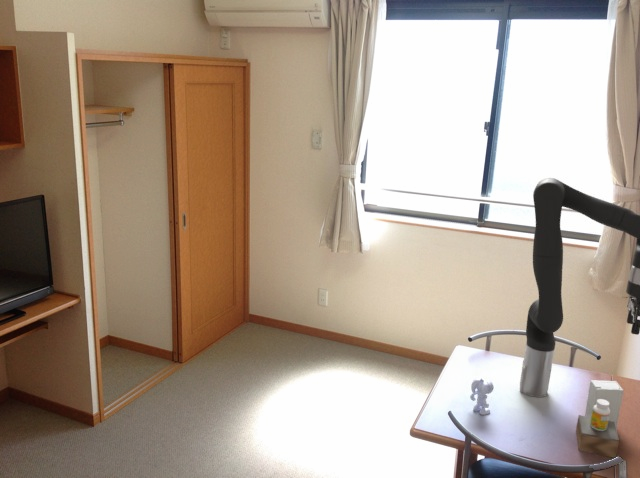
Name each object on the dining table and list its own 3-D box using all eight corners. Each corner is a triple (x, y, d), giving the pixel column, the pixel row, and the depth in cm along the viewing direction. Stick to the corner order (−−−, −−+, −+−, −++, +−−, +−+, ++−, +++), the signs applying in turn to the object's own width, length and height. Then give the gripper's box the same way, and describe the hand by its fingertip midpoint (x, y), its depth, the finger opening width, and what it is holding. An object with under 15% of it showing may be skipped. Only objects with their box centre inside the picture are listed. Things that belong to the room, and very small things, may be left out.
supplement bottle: (586, 422, 180) (591, 397, 177) (601, 422, 180) (606, 397, 178) (594, 431, 175) (599, 406, 173) (609, 431, 176) (615, 406, 173)
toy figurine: (495, 413, 194) (499, 380, 190) (482, 419, 190) (487, 385, 187) (478, 403, 199) (482, 371, 196) (465, 409, 195) (469, 376, 192)
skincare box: (609, 421, 192) (617, 380, 188) (616, 432, 186) (625, 390, 182) (582, 419, 192) (590, 378, 188) (589, 430, 186) (597, 388, 182)
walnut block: (578, 450, 176) (581, 432, 174) (575, 431, 185) (578, 415, 184) (615, 458, 173) (619, 440, 171) (610, 438, 182) (614, 421, 181)
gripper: (625, 272, 192) (616, 318, 197) (632, 286, 179) (623, 335, 184) (650, 275, 190) (641, 322, 195) (660, 289, 177) (649, 339, 182)
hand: (632, 328), depth 189 cm, fingers open, 8 cm apart
